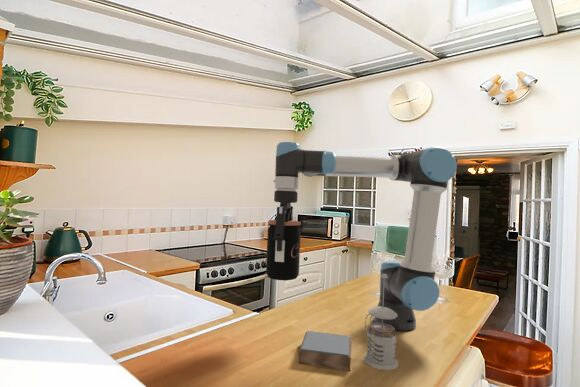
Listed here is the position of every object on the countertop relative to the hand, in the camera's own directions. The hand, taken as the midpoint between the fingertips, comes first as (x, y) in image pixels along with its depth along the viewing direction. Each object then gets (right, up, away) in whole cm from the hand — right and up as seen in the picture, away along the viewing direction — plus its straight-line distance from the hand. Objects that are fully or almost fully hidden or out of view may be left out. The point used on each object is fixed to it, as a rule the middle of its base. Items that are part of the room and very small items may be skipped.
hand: (283, 258), depth 109 cm
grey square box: (+13, -26, -11) cm, 31 cm away
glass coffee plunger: (+28, -27, -12) cm, 41 cm away
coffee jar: (0, -6, 0) cm, 6 cm away
